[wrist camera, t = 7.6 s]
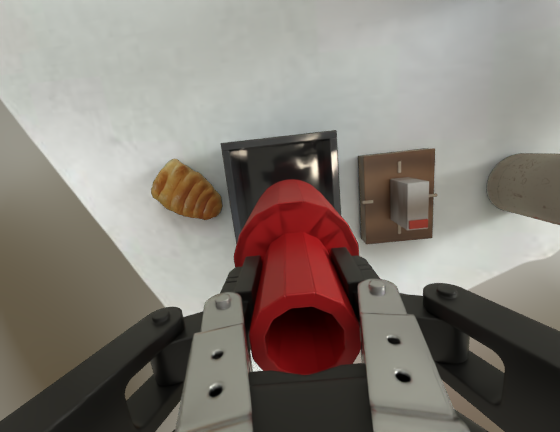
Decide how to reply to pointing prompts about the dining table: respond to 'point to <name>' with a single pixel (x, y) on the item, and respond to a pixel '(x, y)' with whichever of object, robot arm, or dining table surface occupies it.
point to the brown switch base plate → (377, 193)
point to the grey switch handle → (409, 202)
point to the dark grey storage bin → (279, 169)
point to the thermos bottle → (527, 186)
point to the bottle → (299, 281)
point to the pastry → (186, 192)
